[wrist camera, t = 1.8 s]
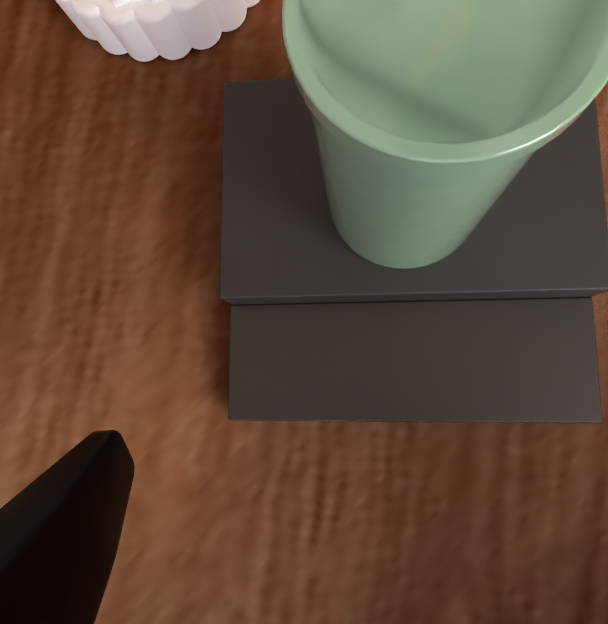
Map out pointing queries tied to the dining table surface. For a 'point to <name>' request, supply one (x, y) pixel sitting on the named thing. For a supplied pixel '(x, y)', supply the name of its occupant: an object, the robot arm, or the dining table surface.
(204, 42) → the mooncake
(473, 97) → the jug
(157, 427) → the dining table surface
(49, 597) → the robot arm
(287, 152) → the step shelf
